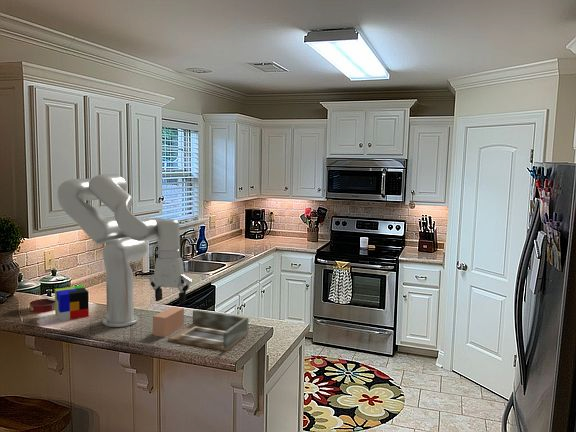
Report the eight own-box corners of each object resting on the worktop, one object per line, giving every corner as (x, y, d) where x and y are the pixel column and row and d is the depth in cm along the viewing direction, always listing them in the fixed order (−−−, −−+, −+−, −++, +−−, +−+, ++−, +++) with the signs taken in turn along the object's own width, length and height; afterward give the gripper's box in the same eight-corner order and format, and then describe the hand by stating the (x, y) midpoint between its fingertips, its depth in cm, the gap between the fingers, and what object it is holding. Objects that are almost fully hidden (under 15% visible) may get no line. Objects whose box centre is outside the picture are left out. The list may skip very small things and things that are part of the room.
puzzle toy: (60, 321, 177) (59, 295, 176) (55, 313, 185) (54, 289, 184) (88, 316, 183) (88, 291, 182) (82, 309, 191) (82, 285, 190)
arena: (168, 340, 161) (168, 323, 160) (194, 325, 177) (194, 309, 176) (226, 351, 154) (226, 333, 153) (248, 333, 170) (248, 317, 169)
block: (165, 337, 164) (165, 318, 163) (152, 335, 166) (152, 316, 165) (183, 326, 176) (183, 308, 175) (172, 324, 177) (172, 306, 176)
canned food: (35, 318, 194) (36, 294, 197) (61, 315, 195) (62, 291, 198) (22, 313, 183) (24, 288, 187) (49, 310, 184) (51, 285, 188)
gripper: (142, 254, 167) (143, 302, 169) (184, 257, 161) (186, 306, 163) (154, 251, 174) (156, 296, 176) (196, 253, 168) (197, 301, 170)
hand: (170, 301), depth 169 cm, fingers open, 9 cm apart
